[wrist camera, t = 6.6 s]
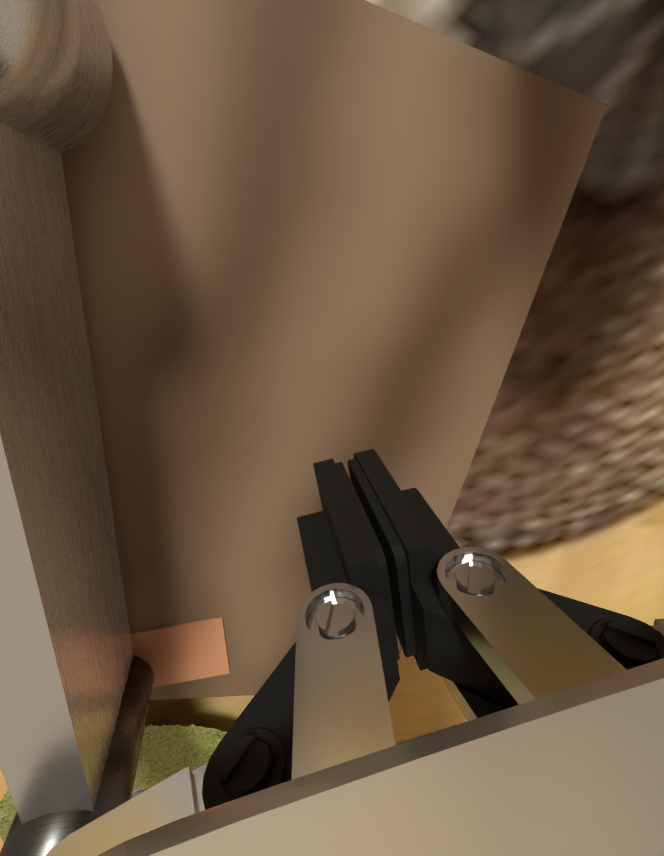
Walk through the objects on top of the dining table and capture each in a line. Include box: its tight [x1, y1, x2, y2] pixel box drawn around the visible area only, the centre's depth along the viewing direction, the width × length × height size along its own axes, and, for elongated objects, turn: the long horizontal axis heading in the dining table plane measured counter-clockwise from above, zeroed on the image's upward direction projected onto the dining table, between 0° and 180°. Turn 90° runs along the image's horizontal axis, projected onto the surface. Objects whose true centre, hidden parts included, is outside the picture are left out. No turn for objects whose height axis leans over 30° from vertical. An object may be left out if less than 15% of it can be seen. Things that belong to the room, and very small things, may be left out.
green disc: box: [0, 724, 227, 842], centre depth 19 cm, size 11×11×2 cm
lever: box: [0, 0, 154, 856], centre depth 8 cm, size 21×4×6 cm, turn 175°
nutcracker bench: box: [61, 0, 607, 700], centre depth 12 cm, size 19×23×5 cm
